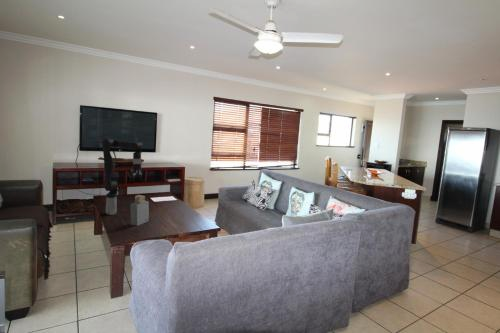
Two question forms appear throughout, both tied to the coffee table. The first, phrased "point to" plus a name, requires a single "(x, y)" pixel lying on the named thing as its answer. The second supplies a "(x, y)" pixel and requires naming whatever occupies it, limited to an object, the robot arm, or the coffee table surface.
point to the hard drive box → (139, 213)
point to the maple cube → (139, 199)
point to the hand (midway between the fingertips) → (136, 179)
